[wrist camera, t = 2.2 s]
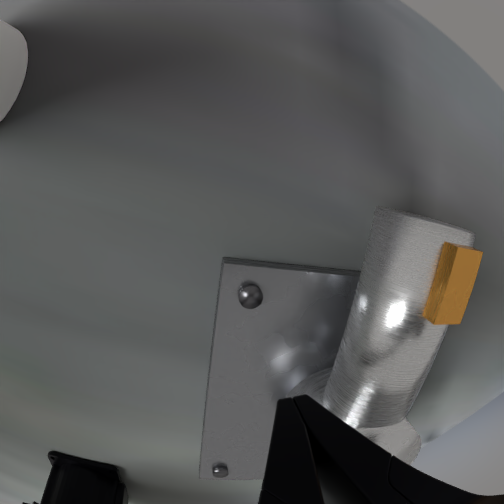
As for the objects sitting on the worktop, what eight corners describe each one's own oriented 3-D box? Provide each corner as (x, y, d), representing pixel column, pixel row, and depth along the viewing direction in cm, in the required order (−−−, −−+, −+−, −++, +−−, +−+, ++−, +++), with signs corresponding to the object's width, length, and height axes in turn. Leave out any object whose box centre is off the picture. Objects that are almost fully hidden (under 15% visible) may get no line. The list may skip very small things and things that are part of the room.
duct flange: (198, 472, 21) (200, 504, 18) (222, 257, 16) (227, 281, 13) (372, 458, 24) (385, 483, 21) (453, 280, 19) (485, 298, 16)
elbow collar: (358, 434, 20) (391, 494, 14) (269, 442, 19) (289, 516, 13) (436, 218, 16) (518, 247, 10) (330, 195, 15) (405, 220, 9)
